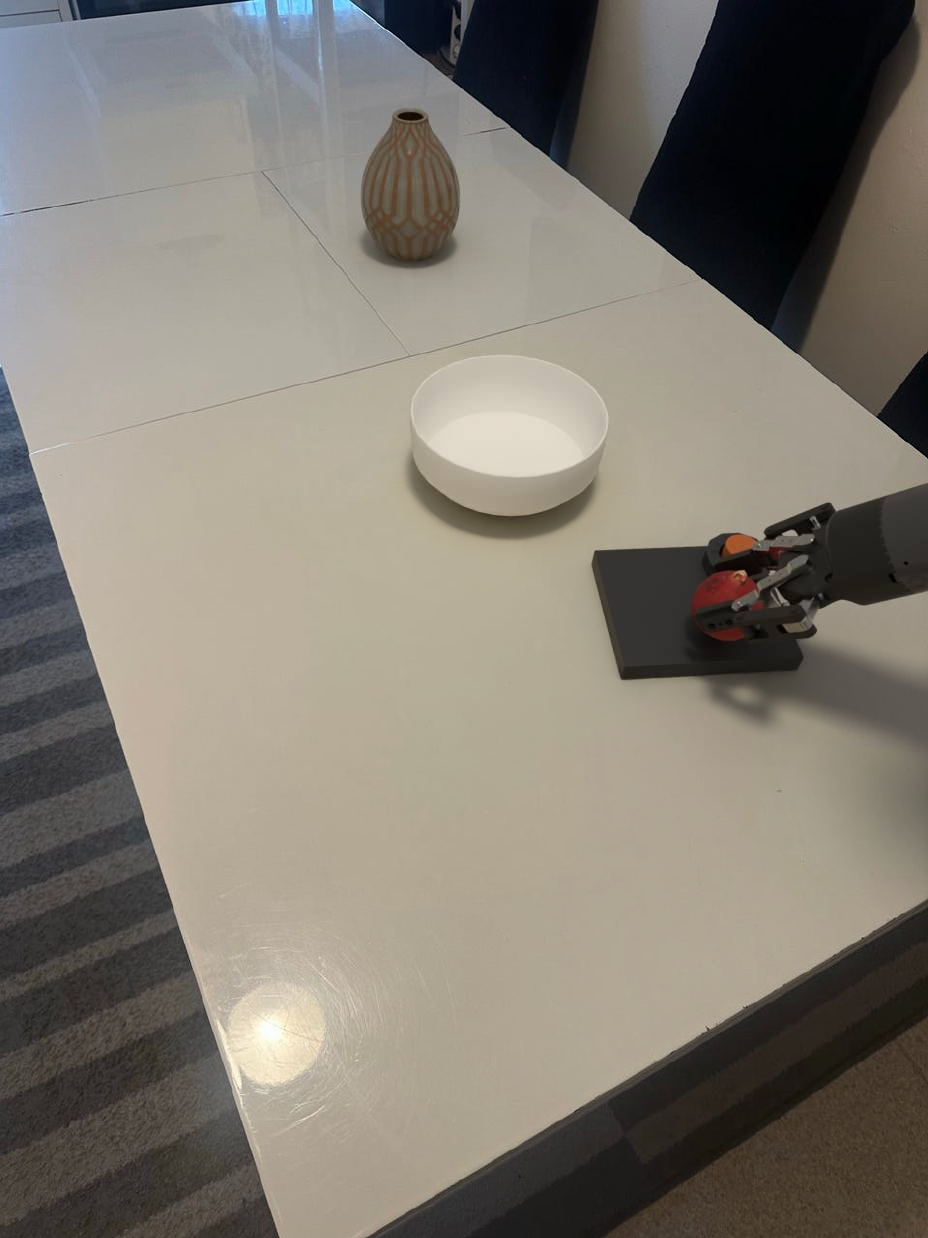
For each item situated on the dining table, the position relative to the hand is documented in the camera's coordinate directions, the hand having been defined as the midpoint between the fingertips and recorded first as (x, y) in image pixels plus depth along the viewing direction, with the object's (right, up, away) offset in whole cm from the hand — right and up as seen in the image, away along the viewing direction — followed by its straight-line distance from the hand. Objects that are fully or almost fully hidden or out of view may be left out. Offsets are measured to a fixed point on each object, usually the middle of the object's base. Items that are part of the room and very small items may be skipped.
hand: (710, 596), depth 78 cm
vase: (-28, +49, +49) cm, 75 cm away
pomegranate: (+1, -3, +3) cm, 5 cm away
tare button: (+5, +4, +7) cm, 10 cm away
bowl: (-17, +13, +18) cm, 28 cm away
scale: (0, -2, +7) cm, 7 cm away
